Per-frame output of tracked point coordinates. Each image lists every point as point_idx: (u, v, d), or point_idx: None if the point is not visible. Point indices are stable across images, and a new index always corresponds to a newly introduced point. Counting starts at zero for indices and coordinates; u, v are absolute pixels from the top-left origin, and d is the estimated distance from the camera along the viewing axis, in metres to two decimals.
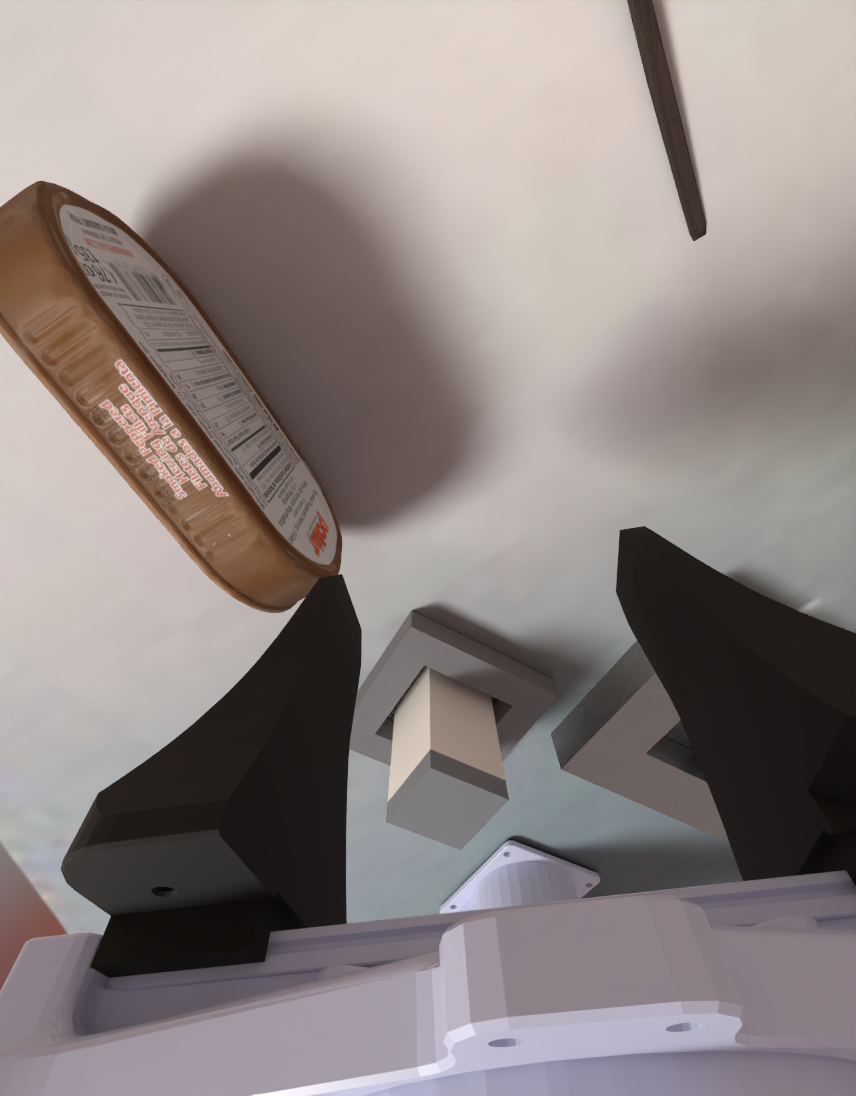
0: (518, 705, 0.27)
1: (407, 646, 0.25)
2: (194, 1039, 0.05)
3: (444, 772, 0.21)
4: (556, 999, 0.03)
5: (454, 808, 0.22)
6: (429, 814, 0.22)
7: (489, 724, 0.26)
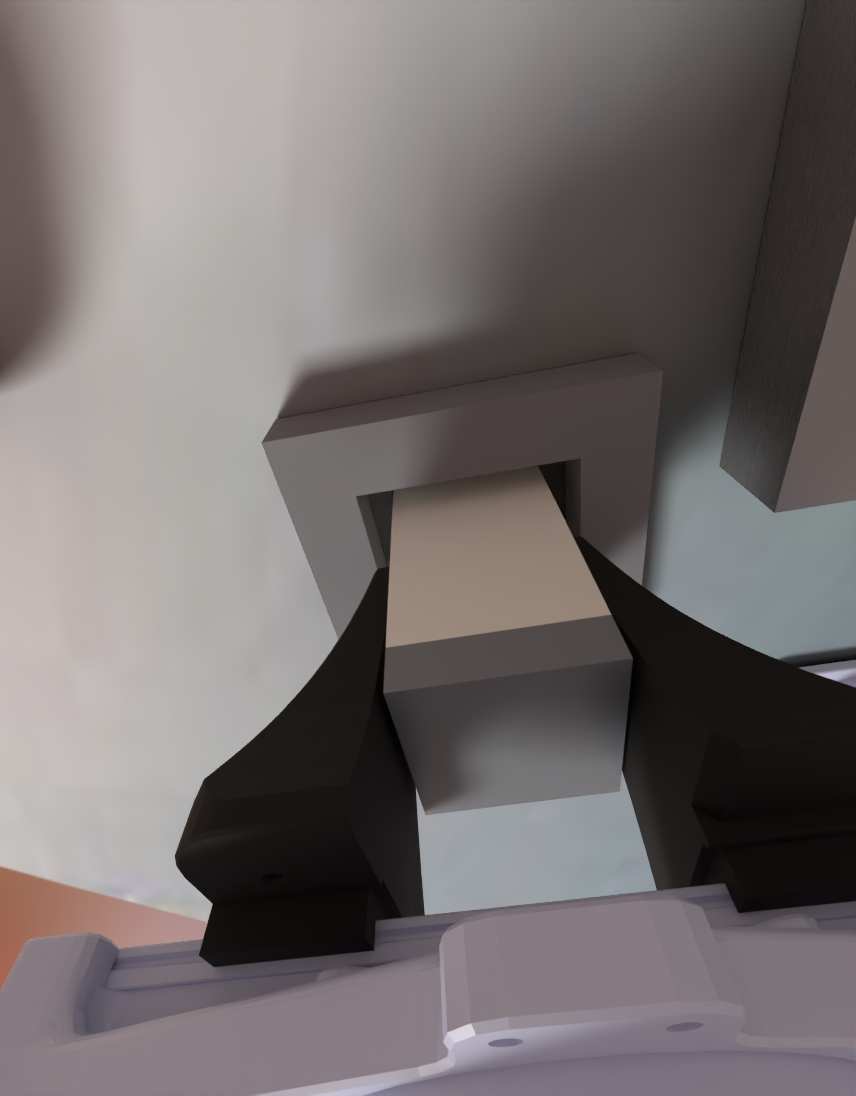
0: (592, 448, 0.12)
1: (295, 483, 0.12)
2: (194, 1039, 0.05)
3: (424, 685, 0.08)
4: (556, 999, 0.03)
5: (525, 735, 0.09)
6: (487, 768, 0.09)
7: (545, 520, 0.11)
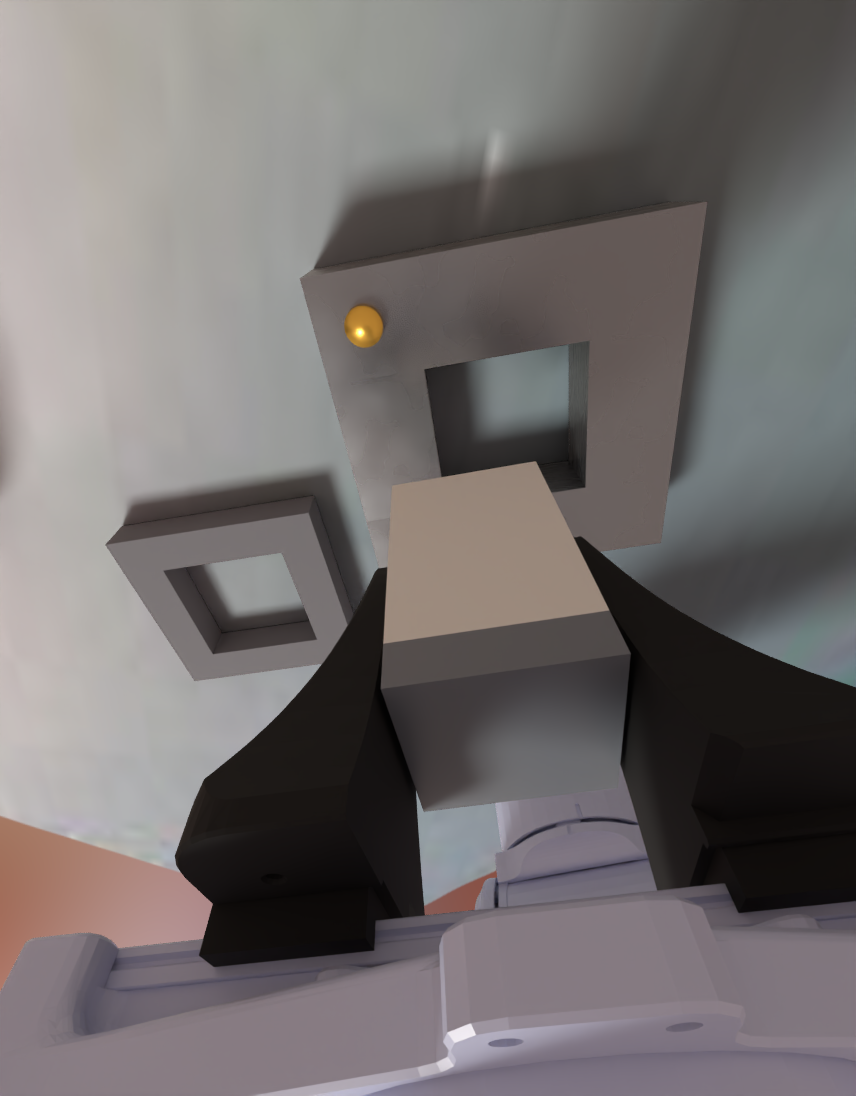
0: (285, 548, 0.22)
1: (127, 564, 0.22)
2: (194, 1039, 0.05)
3: (421, 680, 0.08)
4: (556, 999, 0.03)
5: (523, 732, 0.09)
6: (485, 765, 0.09)
7: (543, 517, 0.11)
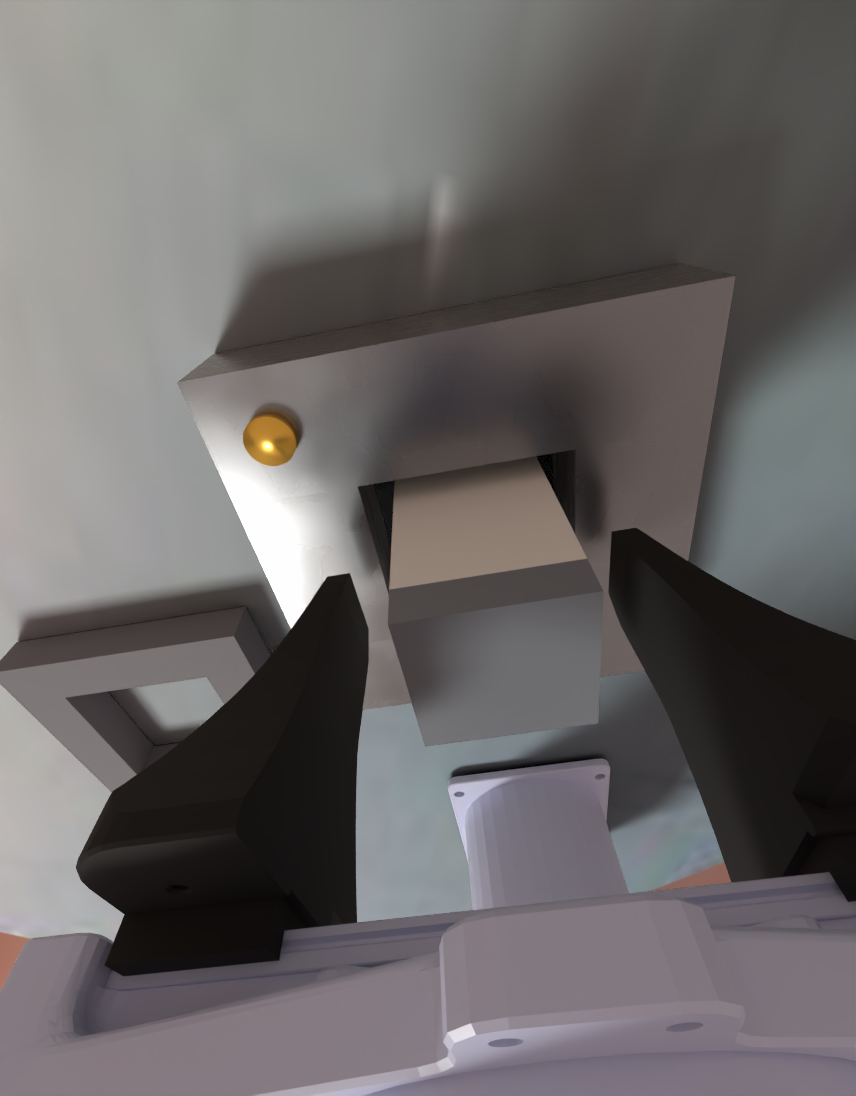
0: (211, 672, 0.18)
1: (20, 692, 0.18)
2: (194, 1039, 0.05)
3: (423, 617, 0.09)
4: (556, 999, 0.03)
5: (512, 666, 0.10)
6: (479, 699, 0.11)
7: (532, 485, 0.12)
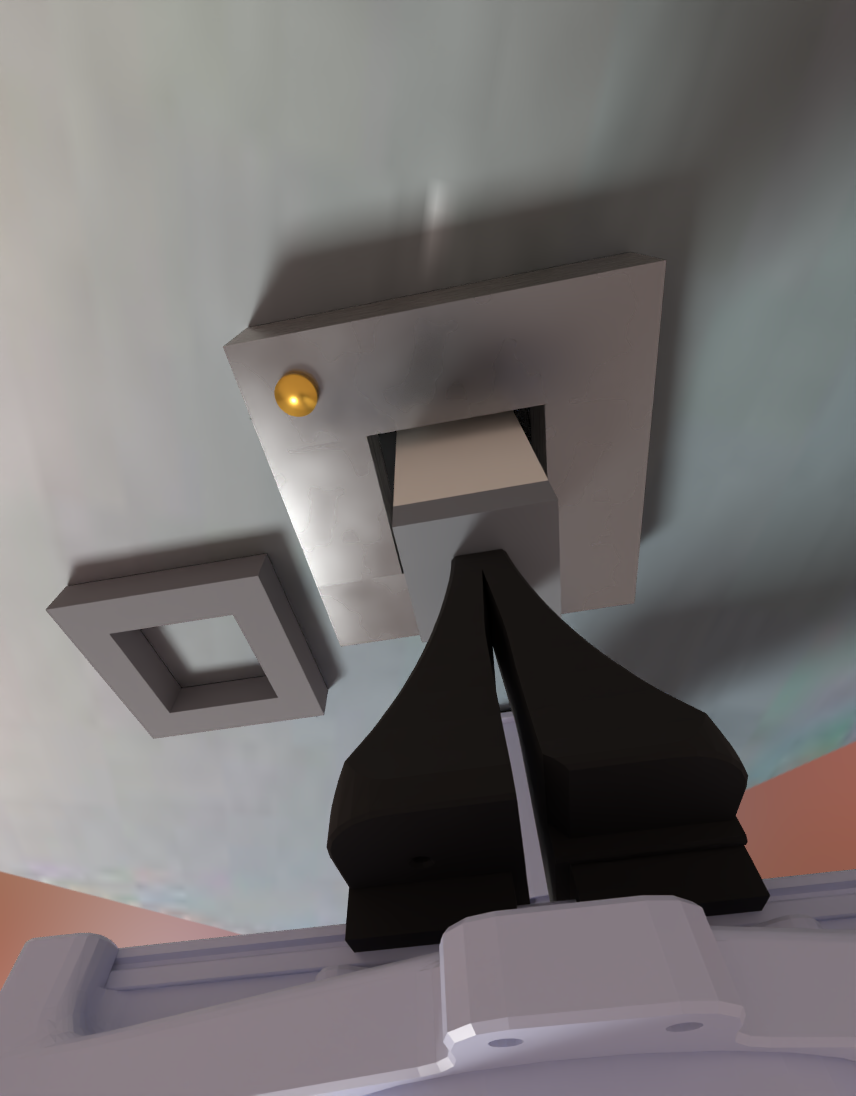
0: (237, 610, 0.20)
1: (71, 628, 0.21)
2: (194, 1039, 0.05)
3: (419, 521, 0.12)
4: (556, 999, 0.03)
5: None
6: None
7: (510, 434, 0.15)
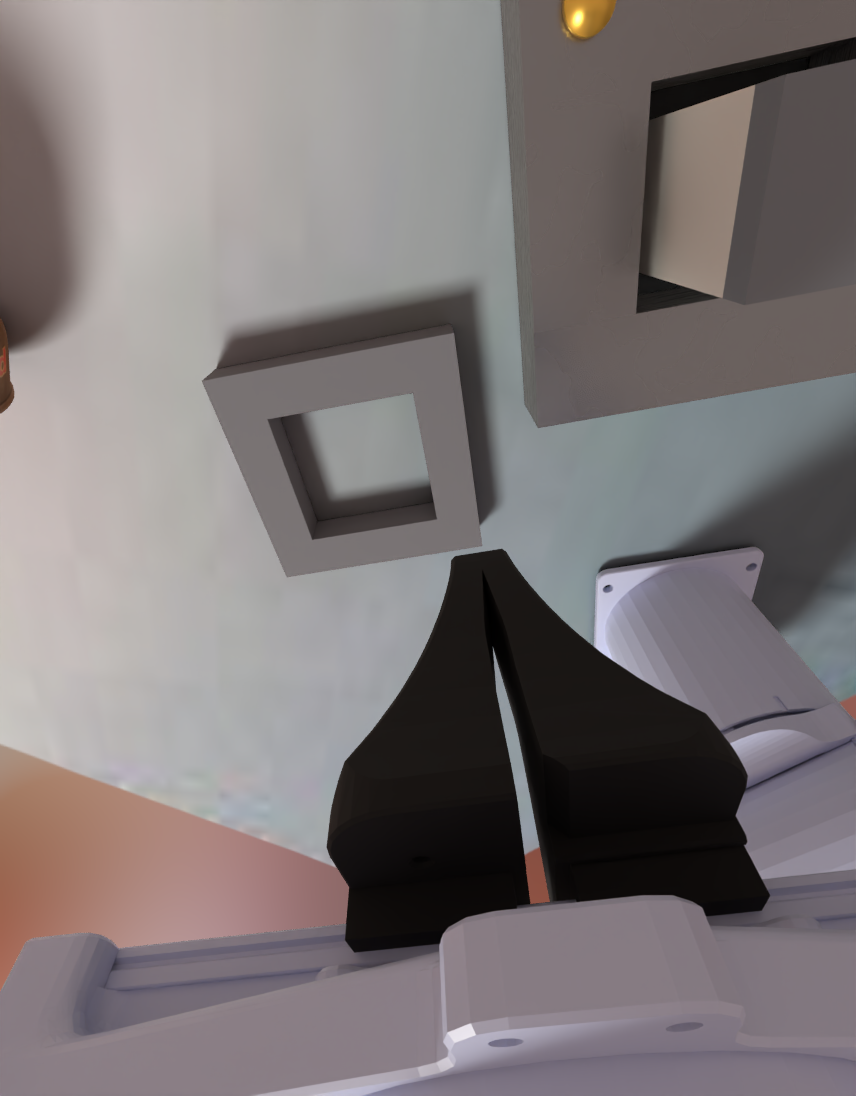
0: (418, 386, 0.18)
1: (226, 409, 0.18)
2: (194, 1039, 0.05)
3: (821, 66, 0.09)
4: (556, 999, 0.03)
5: None
6: (826, 220, 0.11)
7: None
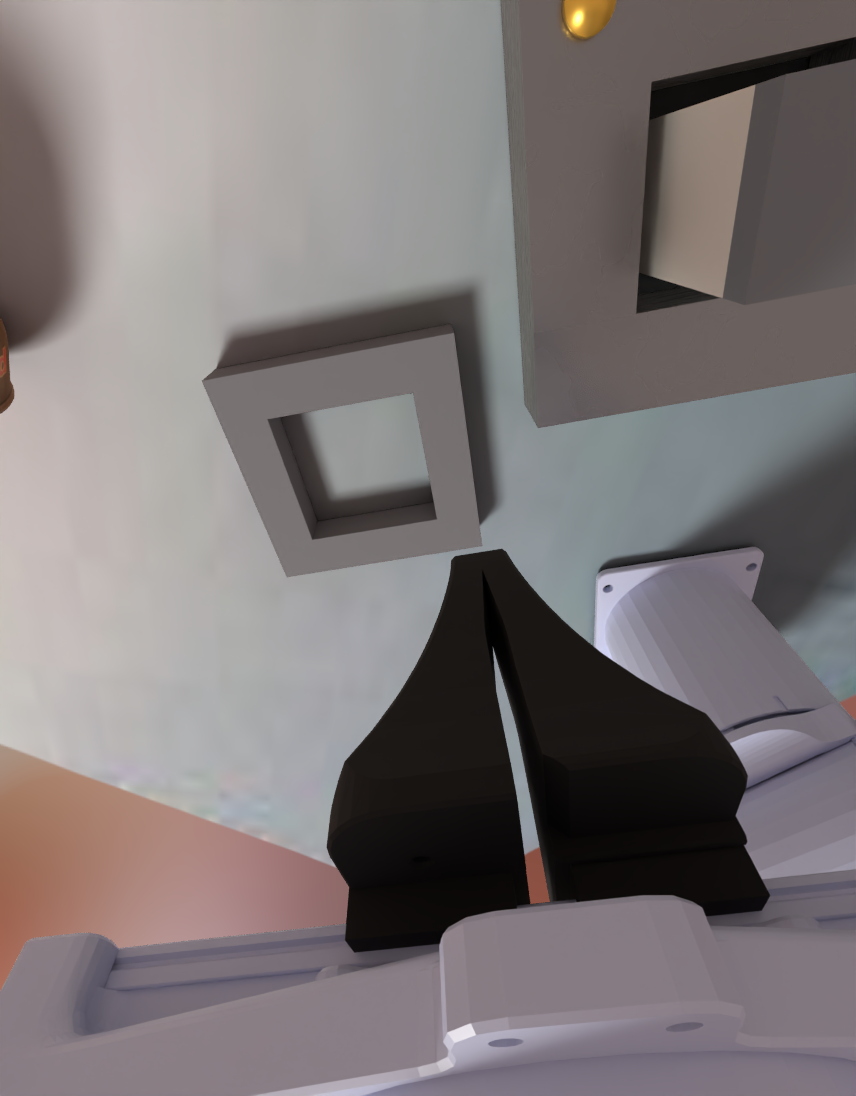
0: (418, 386, 0.18)
1: (226, 409, 0.18)
2: (194, 1039, 0.05)
3: (821, 66, 0.09)
4: (556, 999, 0.03)
5: None
6: (826, 220, 0.11)
7: None
